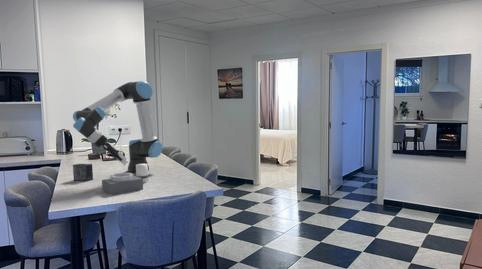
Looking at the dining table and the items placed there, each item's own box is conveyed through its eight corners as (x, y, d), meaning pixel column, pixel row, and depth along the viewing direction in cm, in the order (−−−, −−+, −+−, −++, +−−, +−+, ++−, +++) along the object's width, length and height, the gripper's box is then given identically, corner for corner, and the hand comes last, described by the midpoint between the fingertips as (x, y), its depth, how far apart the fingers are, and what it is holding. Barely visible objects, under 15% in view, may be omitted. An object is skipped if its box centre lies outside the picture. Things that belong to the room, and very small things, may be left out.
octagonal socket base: (132, 185, 207) (132, 171, 207) (143, 189, 197) (142, 174, 196) (102, 190, 196) (101, 175, 195) (111, 194, 185) (110, 179, 184)
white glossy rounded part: (145, 180, 221) (144, 163, 220) (150, 181, 215) (149, 164, 214) (134, 181, 216) (133, 164, 215) (139, 183, 211) (138, 165, 210)
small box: (93, 179, 227) (92, 163, 226) (86, 181, 220) (85, 165, 220) (80, 178, 230) (79, 163, 229) (73, 180, 223) (72, 164, 222)
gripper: (94, 141, 215) (120, 163, 222) (92, 145, 192) (121, 170, 198) (102, 132, 217) (129, 154, 223) (102, 135, 193) (131, 160, 200)
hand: (125, 162), depth 211 cm, fingers open, 13 cm apart
